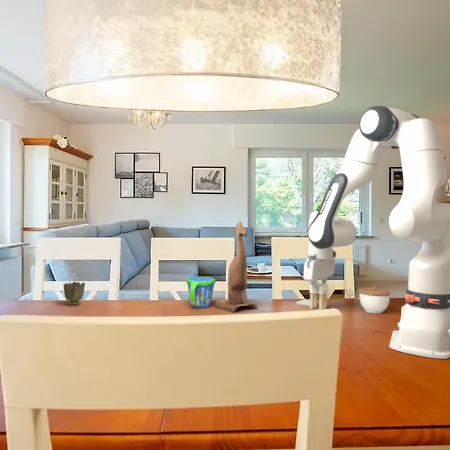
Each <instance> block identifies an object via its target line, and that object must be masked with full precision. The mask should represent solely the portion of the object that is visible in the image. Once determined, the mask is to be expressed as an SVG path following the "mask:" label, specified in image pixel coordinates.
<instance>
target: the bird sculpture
mask: <svg viewBox="0 0 450 450" xmlns="http://www.w3.org/2000/svg"><path fill="white" fill-rule="evenodd" d="M235 234H236V255H235V256H234V258H233V259H232V260H231V262H230V264H229V266H228V278H227V299H223V300H222V299H220V300H217V301H215V307H217V308H218V309H222V310H225V311H227V312H232V313H233V314H234V313H235V312H236V310H237V309H239V307H242V306H244V307H245V306H246V307H249V308H254V309H258V308H259V307H258V304H257V303H254V302H250V301H248V295H247V287H248V285H247V284H248V260H247V252H246V247H245V246H246V245H245V242H244V241H245V240H244V237H246V238H247V236H248V231H247V229H246V228H245V227H244V225H243V223H242V221H238V222H237V223H236V225H235ZM243 236H244V237H243Z"/></svg>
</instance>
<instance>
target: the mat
mask: <svg viewBox="0 0 450 450" xmlns="http://www.w3.org/2000/svg"><path fill="white" fill-rule="evenodd" d="M295 304H296V305H301V306H302V305H303V306H309V307H310V299H304V298H303V299H301V300H299V301H296V303H295ZM318 305H319V301H318Z"/></svg>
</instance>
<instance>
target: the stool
mask: <svg viewBox="0 0 450 450" xmlns="http://www.w3.org/2000/svg"><path fill="white" fill-rule="evenodd" d="M317 287H318V292H312V285H311V283H310V284H309V300H310V306H309V309H310V310H314V308H318V310H319V309H324V310H327V307H328V303H327V302H328V291H329V284H328V283H326V284H321V282H320V283H319V282H318V283H317ZM318 299H319V304H318Z"/></svg>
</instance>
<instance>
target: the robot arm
mask: <svg viewBox="0 0 450 450" xmlns="http://www.w3.org/2000/svg"><path fill="white" fill-rule="evenodd" d="M387 148H391V149H392V150H395V149H396V150H397V149H399V154H400V162H401V170H402V176H403V178H402V179H403V190H402V194H401V198H400V200H399V202H398V203H397V205H395V207H394V208H393V209H392V210H391V212H390V214H389V217H388V227H389V229H390V232H391V233H392V235H393V236H394V237H395V238H397V239H399V240H403V241H408V242H411V243H422V246H421V248H420V250H419V252H418V253H417V254H416V255H415V256H414V257H412V259H411V260H410V261H409V263H408V282H407V283H408V284H407V288H406V292H405V300H404V302H405V304H404V305H403V306H402V307H401V314H400V315H401V316H400V320H399V322H397V323H396V324H397V325H396V326H397V328H399V329H398V330H393V331H392V334H391V337H390V342H389V348H390V349H392V350H395V351H398V352H400V353H401V352H402V353H404V354H409V355H414V356H419V357H424V358H425V357H426V358H431V359H444V360H445V359H447V360H448V359H449V358H450V202H438V201H437V199H438V198H437V196H438V191H439V188H440V187H441V186H443V185H444V184H445V182H446V180H447V178H448V175H447V169H446V163H445V156H444V150H443V145H442V141H441V139H440V135H439V132H438V130H437V127H436V125H435V123H434V122H433V121H432V120H430V119H429V118H424V117H419V116H418V115H416V114H414V113H410V112H407V111H404V110H401V109H399V108H395V107H387V106H384V105H373V106H371V107H368V108H367V109H365V111H364V112H363V113H362V115H361V116H360V119H359V122H358V129H357V130H356V131H355V132H354V134H353V136H352V138H351V139H350V142H349V145H348V147H347V150H346V153H345V155H344V159H343V161H342V164H341V166H340V169H339V170H338V172H337V173H336V174H335V175H334V176H333V177H332V179H331V181H330V183H329V184H328V187H327V189H326V191H325V193H324V196H323V199H322V201H321V204H320V206H319V208H318V209H317V210H315V211H312V212H311V213H310V215H309V220H308V225H307V227H308V229H307V237H308V244H307V259H306V260H305V262H304V265H303V275H302V276H303V280H304V282H310V284H311V285H312V292H318V287H317V283H319V281H320V283H321V284H327V281H328V278H329V277H333V275H334V273H335V270H336V269H335V267H336V257H337V252H336V250H334V248H339V247H348V246H350V245H352V244H354V242H355V240H356V237H357V230H356V227H355V224H354V223H353V222H352V221H351V220H347V219H345V218H342V217H340V216H338V213H339V210H340V208H341V205H342V203H343V201H344V200H345V198H346V197H347V196H348V195H349V194H351V193H353V192H355V191H357V190H359V189H362V188H364V187H366V186H368V185H369V184H370V183H371V182H372V180H373V179H374V177H375V175H376V173H377V170H378V167H379V162H380V160H381V156H382V154H383V152H384V151H385V150H386V149H387Z"/></svg>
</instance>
